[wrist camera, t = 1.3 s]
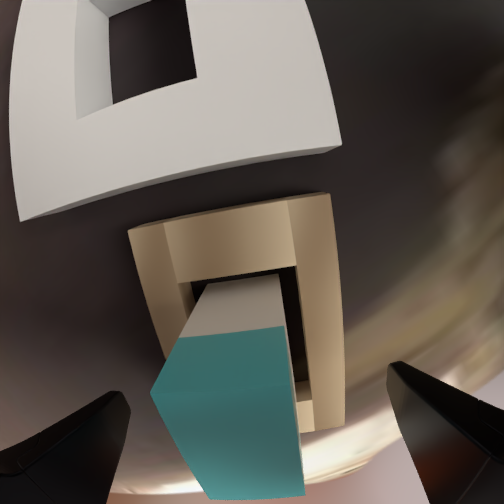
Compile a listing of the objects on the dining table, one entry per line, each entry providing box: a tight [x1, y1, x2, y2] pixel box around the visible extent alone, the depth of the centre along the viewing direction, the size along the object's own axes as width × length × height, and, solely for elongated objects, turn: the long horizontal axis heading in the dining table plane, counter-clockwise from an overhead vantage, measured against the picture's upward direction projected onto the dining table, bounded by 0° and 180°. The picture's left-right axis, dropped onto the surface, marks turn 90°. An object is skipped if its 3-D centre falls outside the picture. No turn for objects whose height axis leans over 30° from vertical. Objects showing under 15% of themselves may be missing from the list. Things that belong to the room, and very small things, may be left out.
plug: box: [150, 274, 305, 500], centre depth 9 cm, size 3×5×7 cm, turn 10°
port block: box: [9, 0, 342, 222], centre depth 9 cm, size 12×12×3 cm
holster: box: [128, 192, 345, 433], centre depth 12 cm, size 7×11×2 cm
